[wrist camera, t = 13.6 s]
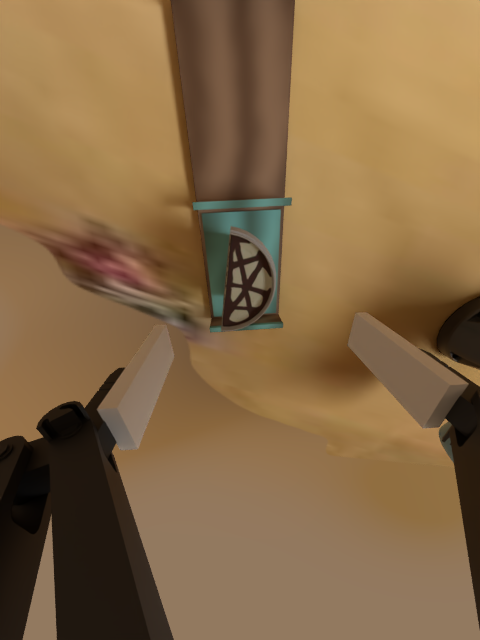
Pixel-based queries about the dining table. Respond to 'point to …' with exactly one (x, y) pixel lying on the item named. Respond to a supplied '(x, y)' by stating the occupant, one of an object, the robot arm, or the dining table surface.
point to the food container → (246, 280)
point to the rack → (237, 127)
